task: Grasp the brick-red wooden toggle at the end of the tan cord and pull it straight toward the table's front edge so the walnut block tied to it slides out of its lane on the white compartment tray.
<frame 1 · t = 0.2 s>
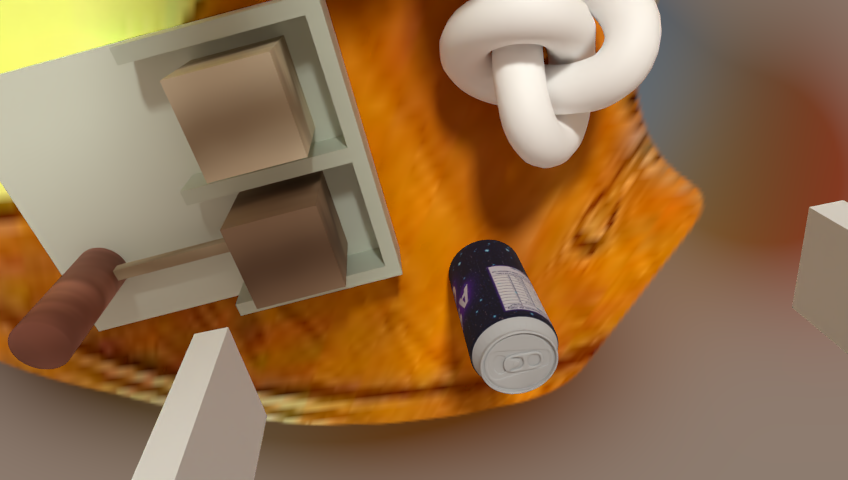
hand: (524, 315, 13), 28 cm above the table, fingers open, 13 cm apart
white rounded piece: (527, 58, 38), on the table
tethered block: (295, 218, 40), point 1 cm above the table, touching white compartment tray
white compartment tray: (199, 175, 39), on the table
beverage can: (481, 264, 45), on the table
maple block: (255, 94, 36), point 1 cm above the table, touching white compartment tray
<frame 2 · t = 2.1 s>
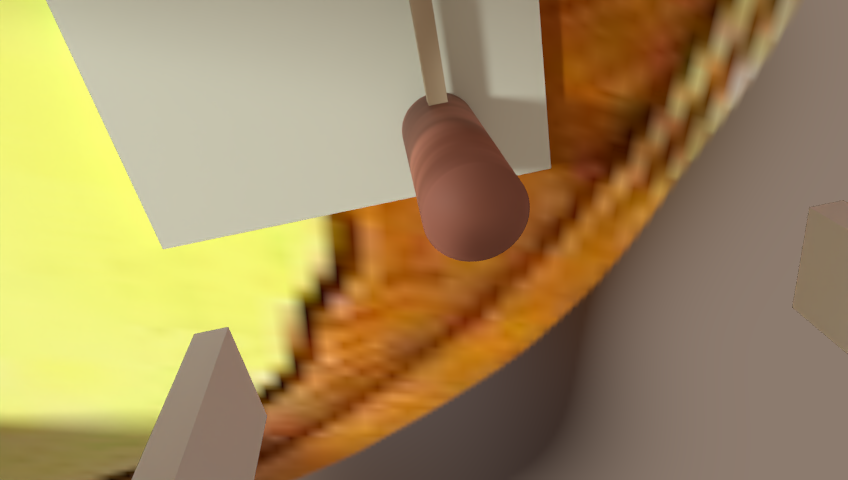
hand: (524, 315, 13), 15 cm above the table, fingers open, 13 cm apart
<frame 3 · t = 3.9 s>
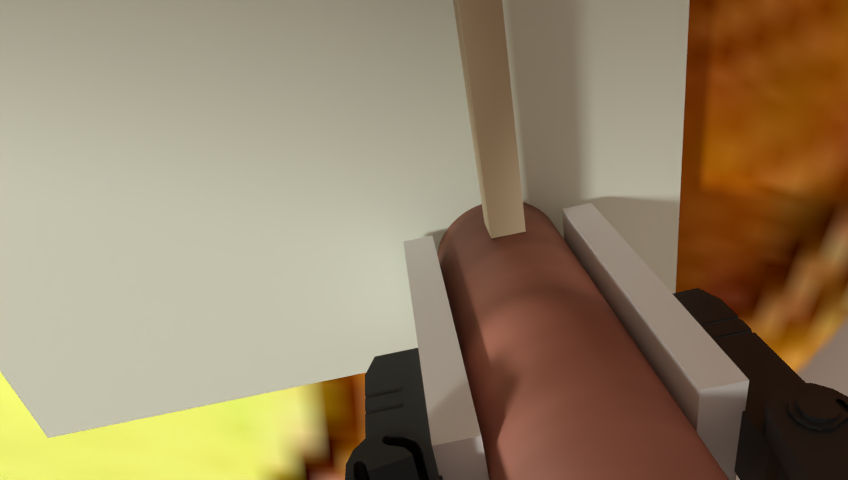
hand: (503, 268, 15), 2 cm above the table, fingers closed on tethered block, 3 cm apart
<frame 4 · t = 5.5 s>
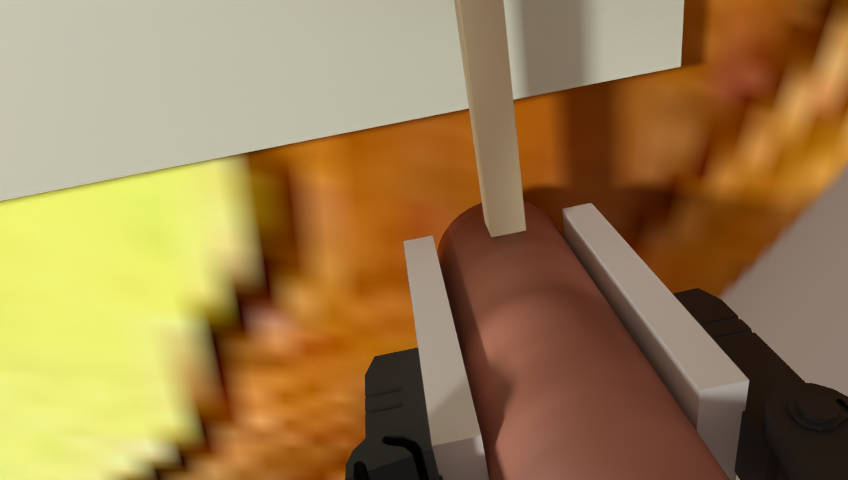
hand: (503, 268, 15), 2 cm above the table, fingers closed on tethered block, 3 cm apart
when the fingers open (2 cm above the table, at t = 7.2 s): tethered block stays where it is, resting on white compartment tray.
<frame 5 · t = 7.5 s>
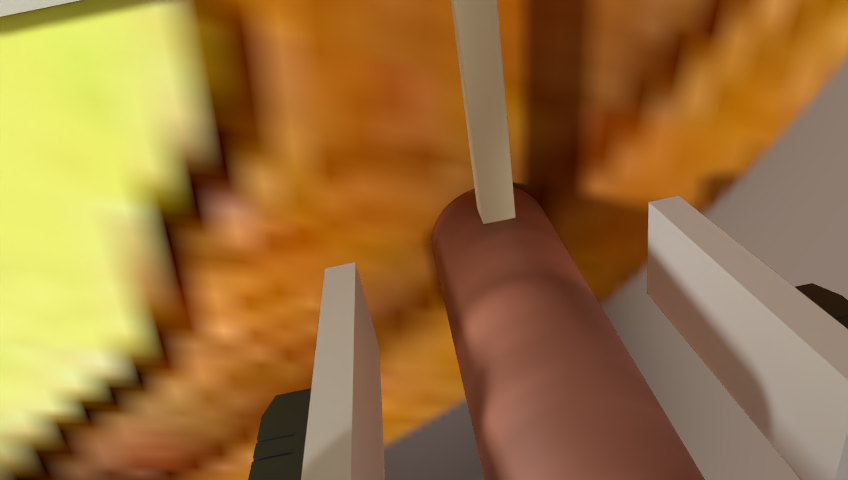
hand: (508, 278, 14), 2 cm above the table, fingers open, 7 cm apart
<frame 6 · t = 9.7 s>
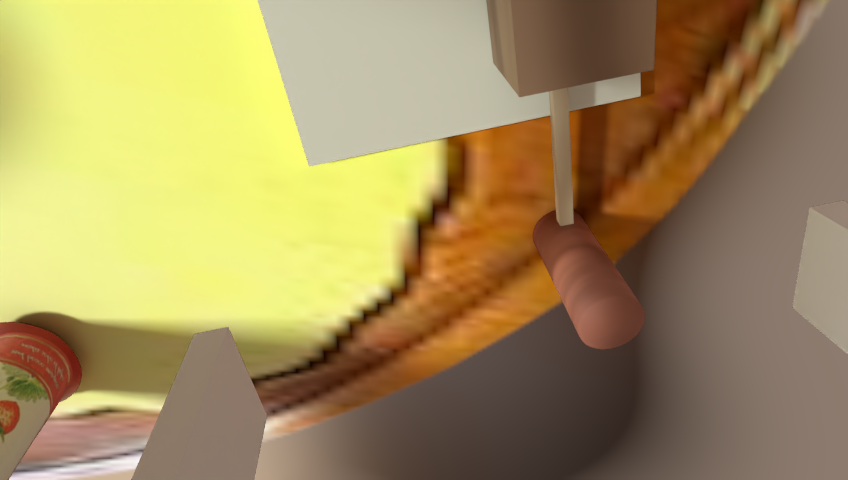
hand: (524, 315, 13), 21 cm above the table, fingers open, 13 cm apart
liquor: (37, 351, 37), on the table
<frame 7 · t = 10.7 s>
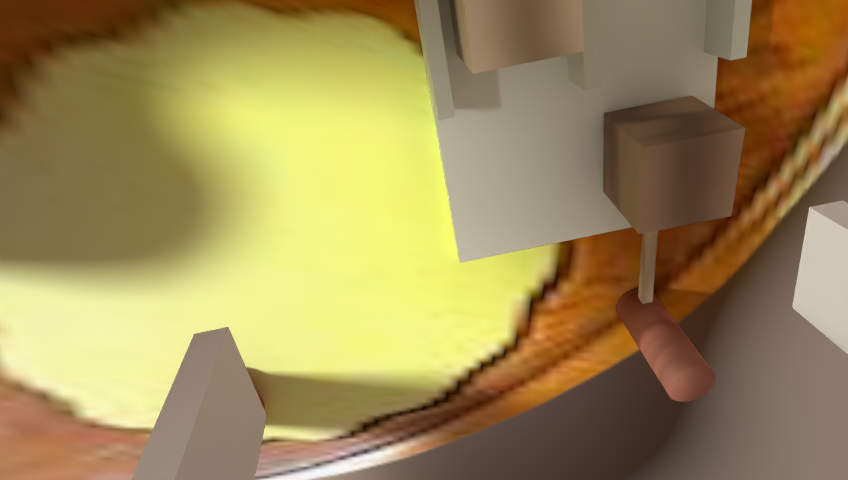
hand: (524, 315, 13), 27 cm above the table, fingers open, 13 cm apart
tethered block: (645, 145, 39), point 1 cm above the table, touching white compartment tray
white compartment tray: (571, 75, 37), on the table
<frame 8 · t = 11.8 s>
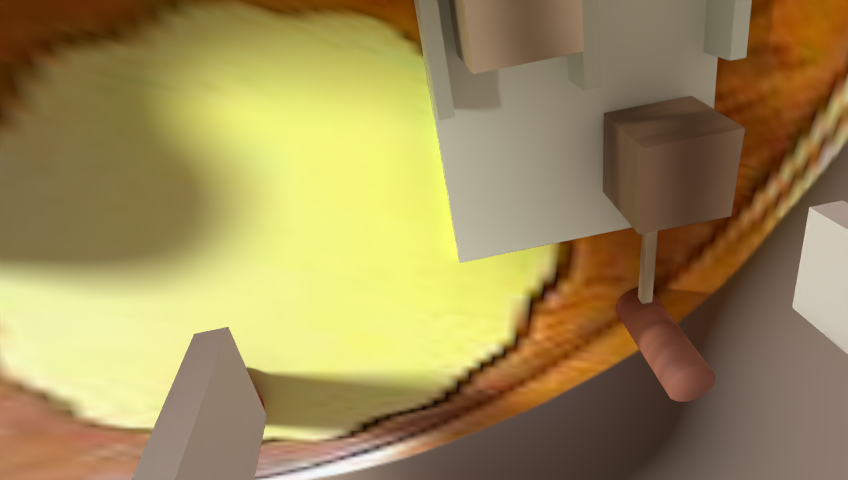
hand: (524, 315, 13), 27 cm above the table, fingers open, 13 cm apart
tethered block: (645, 145, 39), point 1 cm above the table, touching white compartment tray
white compartment tray: (570, 75, 37), on the table
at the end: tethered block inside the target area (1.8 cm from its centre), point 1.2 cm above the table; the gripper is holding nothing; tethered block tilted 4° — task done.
